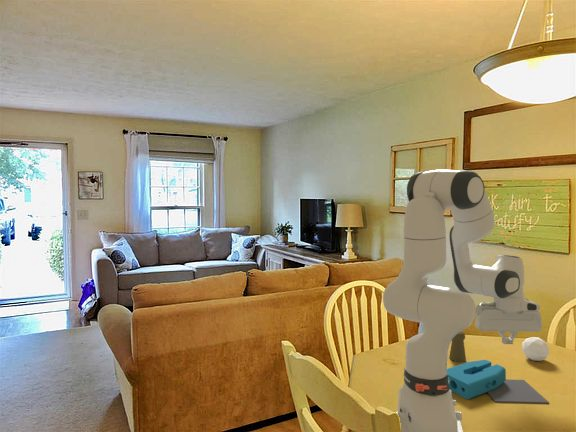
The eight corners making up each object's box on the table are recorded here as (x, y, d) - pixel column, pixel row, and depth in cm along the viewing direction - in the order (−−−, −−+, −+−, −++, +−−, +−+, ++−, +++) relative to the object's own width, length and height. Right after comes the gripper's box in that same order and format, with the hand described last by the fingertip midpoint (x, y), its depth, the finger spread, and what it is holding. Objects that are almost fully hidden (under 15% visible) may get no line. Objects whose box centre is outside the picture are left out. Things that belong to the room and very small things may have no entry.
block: (479, 370, 145) (439, 384, 136) (479, 357, 145) (438, 370, 136) (510, 384, 134) (469, 400, 125) (510, 369, 134) (469, 385, 125)
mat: (549, 403, 123) (549, 402, 123) (495, 402, 124) (495, 400, 124) (523, 380, 138) (523, 379, 138) (475, 379, 139) (475, 378, 139)
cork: (468, 362, 154) (469, 333, 153) (452, 362, 154) (453, 333, 154) (462, 355, 160) (462, 328, 160) (446, 355, 160) (447, 328, 160)
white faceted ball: (558, 360, 150) (539, 351, 162) (549, 336, 151) (531, 329, 163) (535, 367, 151) (518, 358, 163) (526, 343, 151) (510, 336, 163)
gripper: (480, 305, 132) (479, 346, 132) (545, 305, 130) (544, 347, 131) (472, 300, 138) (472, 339, 139) (534, 300, 137) (533, 340, 137)
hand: (507, 343), depth 135 cm, fingers closed
